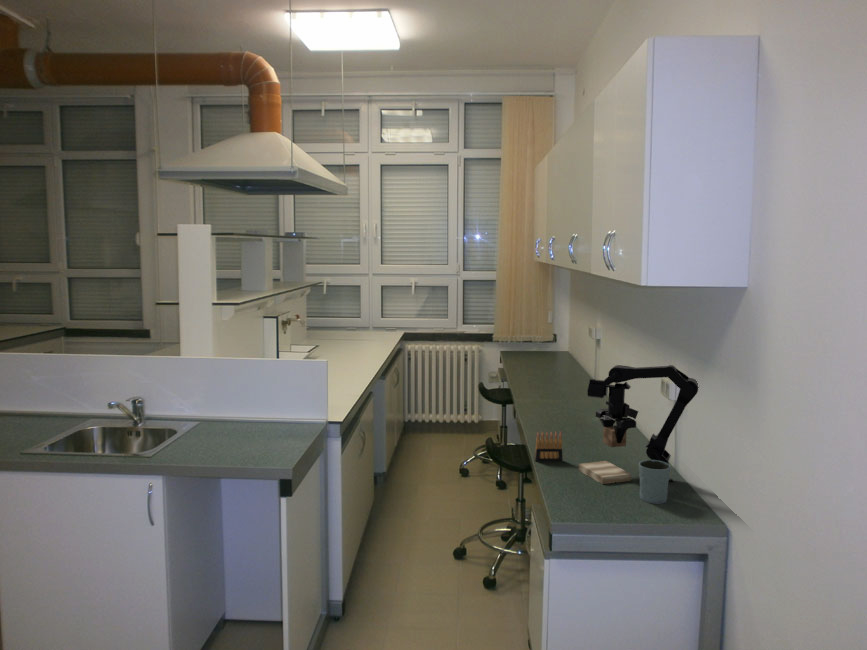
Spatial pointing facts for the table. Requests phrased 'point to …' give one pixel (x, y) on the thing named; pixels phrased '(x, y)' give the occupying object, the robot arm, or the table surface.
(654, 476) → the grey-blue cup
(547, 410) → the table surface
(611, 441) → the walnut cube
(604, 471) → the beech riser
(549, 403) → the table surface
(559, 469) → the table surface
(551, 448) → the ammunition clip
